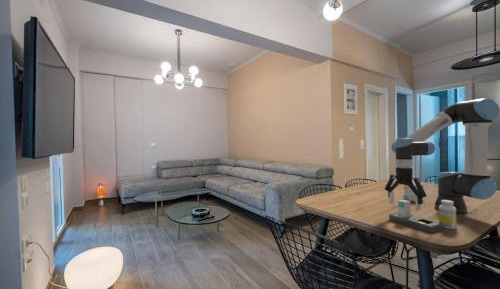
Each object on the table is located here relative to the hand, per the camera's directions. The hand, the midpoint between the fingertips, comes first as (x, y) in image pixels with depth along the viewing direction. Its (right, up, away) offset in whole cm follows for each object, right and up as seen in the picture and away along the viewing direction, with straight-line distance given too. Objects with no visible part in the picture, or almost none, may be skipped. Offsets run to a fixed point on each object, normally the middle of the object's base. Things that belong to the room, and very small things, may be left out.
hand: (404, 206), depth 123 cm
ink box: (+35, -6, +42) cm, 55 cm away
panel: (+2, -8, -4) cm, 9 cm away
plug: (0, -8, 0) cm, 8 cm away
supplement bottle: (+16, -8, -8) cm, 20 cm away
